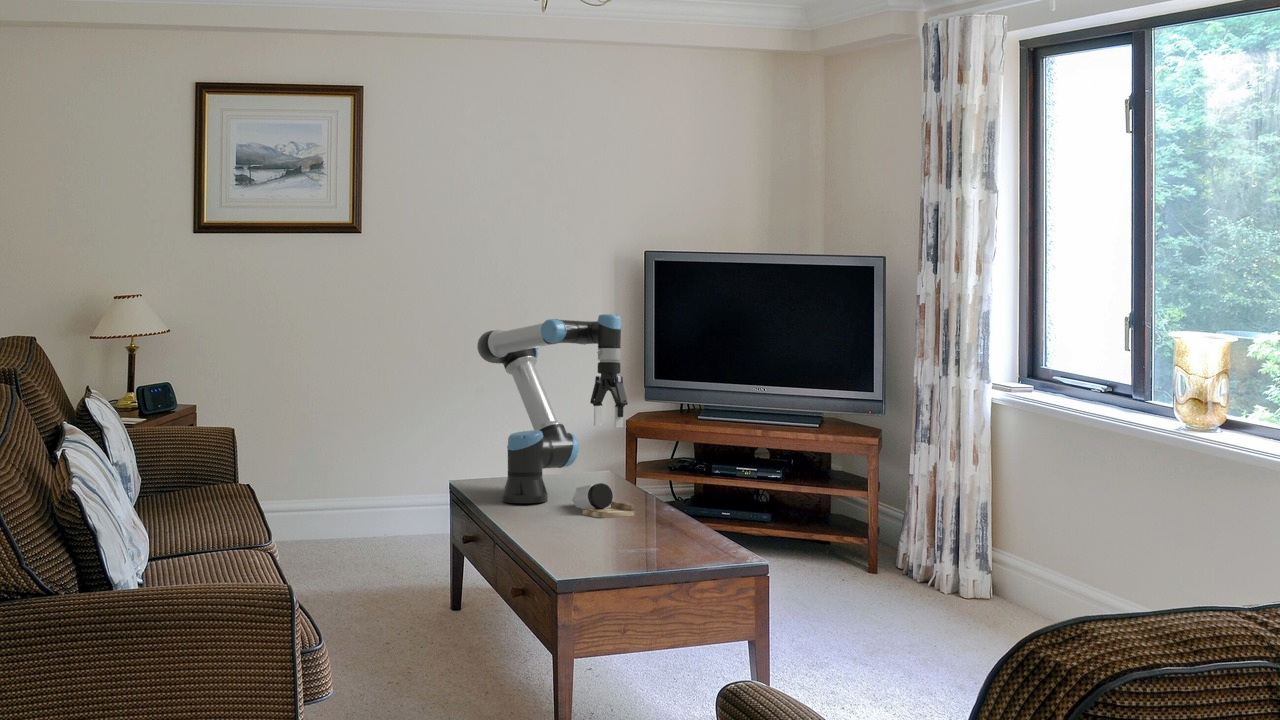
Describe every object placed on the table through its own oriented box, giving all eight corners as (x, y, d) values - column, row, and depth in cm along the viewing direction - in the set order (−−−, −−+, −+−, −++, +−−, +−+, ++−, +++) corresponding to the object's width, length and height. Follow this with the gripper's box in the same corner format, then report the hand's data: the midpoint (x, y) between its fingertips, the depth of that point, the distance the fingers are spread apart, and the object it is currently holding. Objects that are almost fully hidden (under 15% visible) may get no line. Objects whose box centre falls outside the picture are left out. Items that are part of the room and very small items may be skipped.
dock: (582, 514, 350) (582, 503, 350) (613, 512, 356) (613, 501, 356) (602, 518, 340) (602, 506, 340) (634, 515, 346) (634, 504, 346)
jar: (572, 512, 357) (591, 509, 347) (570, 487, 358) (589, 483, 349) (595, 510, 362) (615, 507, 352) (593, 486, 363) (612, 482, 354)
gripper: (580, 361, 367) (580, 424, 366) (618, 361, 345) (617, 428, 345) (600, 362, 370) (599, 424, 370) (638, 361, 349) (637, 427, 349)
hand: (608, 426), depth 357 cm, fingers open, 13 cm apart
